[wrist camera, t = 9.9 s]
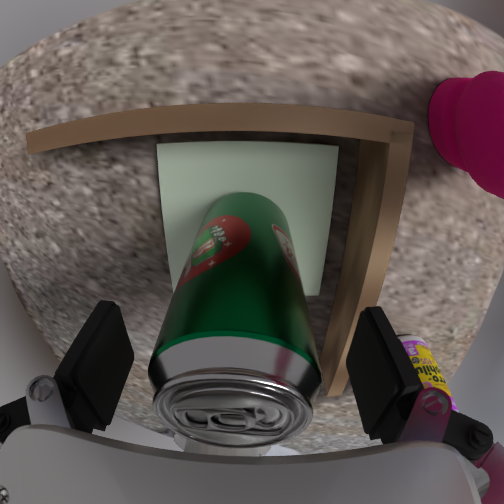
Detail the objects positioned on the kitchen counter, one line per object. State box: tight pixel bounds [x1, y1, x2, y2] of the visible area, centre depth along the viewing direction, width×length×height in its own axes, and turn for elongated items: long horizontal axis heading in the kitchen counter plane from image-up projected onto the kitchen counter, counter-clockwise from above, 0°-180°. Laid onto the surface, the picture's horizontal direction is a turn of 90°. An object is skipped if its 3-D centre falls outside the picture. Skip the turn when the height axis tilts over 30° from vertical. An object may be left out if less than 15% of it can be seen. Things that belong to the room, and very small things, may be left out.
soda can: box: [148, 192, 322, 449], centre depth 12 cm, size 5×5×12 cm
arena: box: [26, 103, 414, 397], centre depth 17 cm, size 20×19×4 cm
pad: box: [157, 140, 339, 296], centre depth 17 cm, size 10×10×1 cm
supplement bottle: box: [397, 335, 459, 412], centre depth 18 cm, size 7×7×13 cm
